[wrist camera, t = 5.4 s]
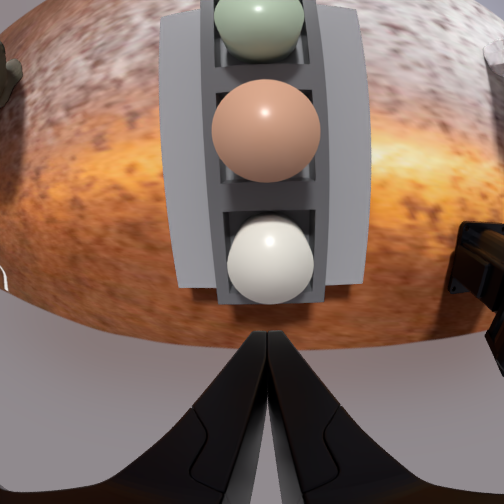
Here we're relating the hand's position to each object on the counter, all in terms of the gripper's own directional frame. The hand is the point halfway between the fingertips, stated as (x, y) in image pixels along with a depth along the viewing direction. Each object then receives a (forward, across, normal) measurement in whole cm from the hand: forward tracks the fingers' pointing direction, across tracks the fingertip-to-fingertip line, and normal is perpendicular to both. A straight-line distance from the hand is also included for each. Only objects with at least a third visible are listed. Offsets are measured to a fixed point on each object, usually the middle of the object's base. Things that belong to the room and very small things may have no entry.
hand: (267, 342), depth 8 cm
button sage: (+8, 0, -12) cm, 14 cm away
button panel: (+12, 0, -6) cm, 13 cm away
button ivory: (+8, 0, 0) cm, 8 cm away
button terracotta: (+7, 0, -6) cm, 9 cm away
